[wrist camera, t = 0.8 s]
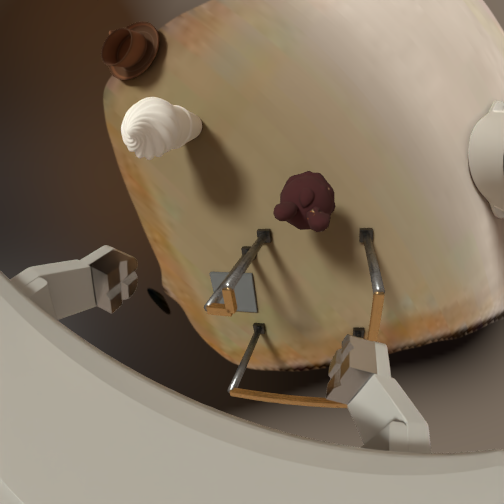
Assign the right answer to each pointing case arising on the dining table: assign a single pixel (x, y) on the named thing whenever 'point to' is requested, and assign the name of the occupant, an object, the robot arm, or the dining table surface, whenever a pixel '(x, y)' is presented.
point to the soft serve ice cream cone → (158, 127)
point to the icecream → (306, 202)
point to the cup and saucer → (130, 50)
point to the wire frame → (231, 306)
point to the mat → (238, 290)
